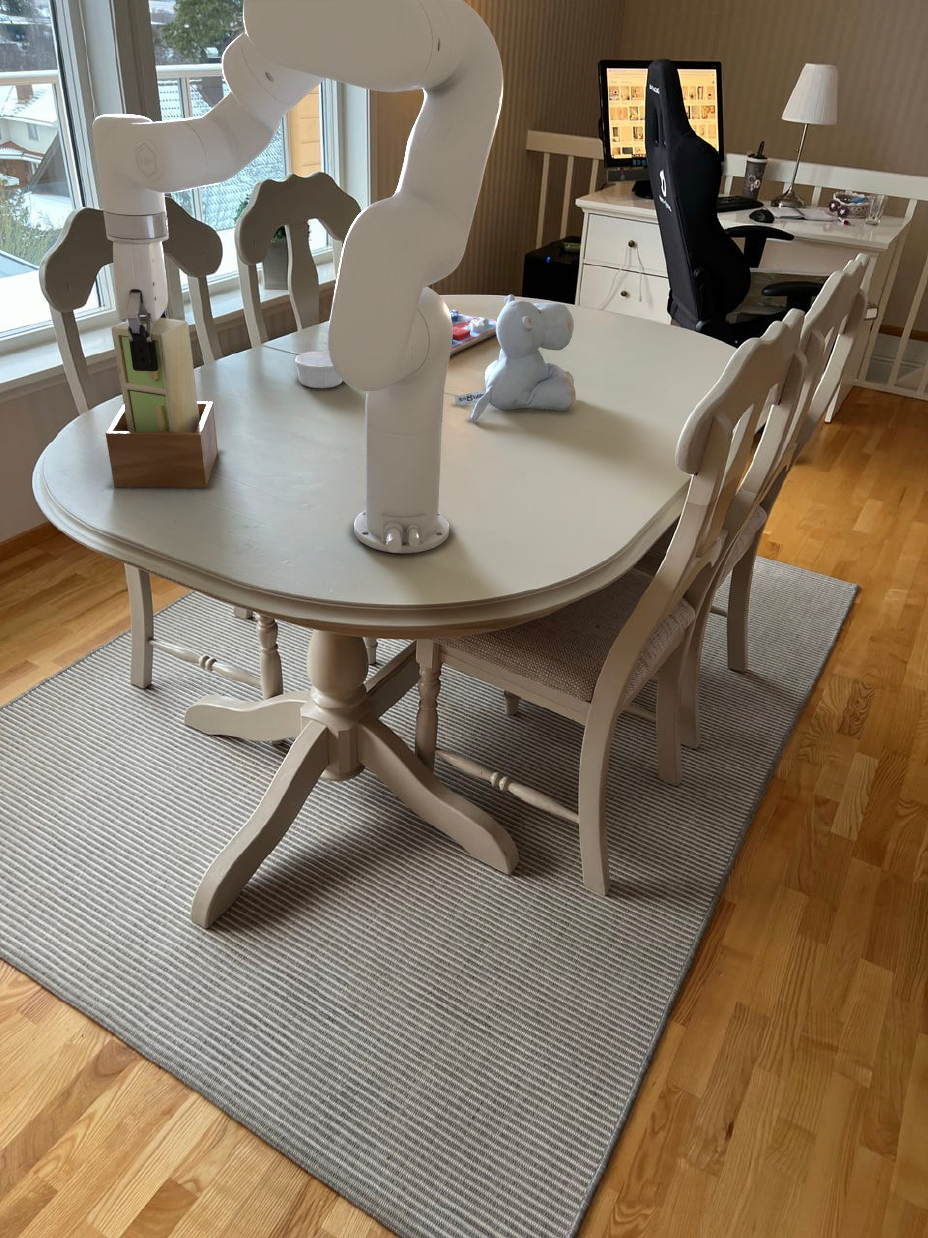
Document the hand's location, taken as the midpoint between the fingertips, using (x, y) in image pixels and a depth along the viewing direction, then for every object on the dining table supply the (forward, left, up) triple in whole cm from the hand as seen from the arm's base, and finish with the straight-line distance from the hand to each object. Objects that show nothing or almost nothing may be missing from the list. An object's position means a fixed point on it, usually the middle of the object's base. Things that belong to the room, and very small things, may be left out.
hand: (153, 358), depth 128 cm
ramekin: (+39, -21, -17) cm, 47 cm away
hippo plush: (+29, -56, -17) cm, 65 cm away
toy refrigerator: (0, 0, -17) cm, 17 cm away
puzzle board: (+69, -42, -17) cm, 82 cm away
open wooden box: (0, 0, -16) cm, 16 cm away
